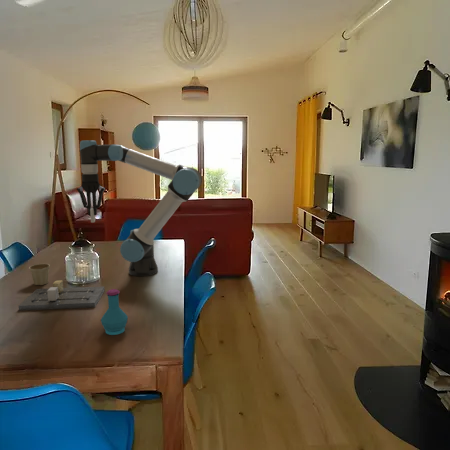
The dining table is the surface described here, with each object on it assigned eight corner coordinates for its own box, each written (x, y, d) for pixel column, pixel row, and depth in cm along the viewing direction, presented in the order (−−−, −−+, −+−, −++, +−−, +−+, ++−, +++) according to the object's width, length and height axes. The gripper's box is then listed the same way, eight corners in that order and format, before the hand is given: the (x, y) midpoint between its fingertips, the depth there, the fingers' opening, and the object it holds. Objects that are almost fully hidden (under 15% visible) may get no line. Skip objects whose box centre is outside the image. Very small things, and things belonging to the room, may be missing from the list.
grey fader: (58, 297, 169) (57, 287, 168) (55, 300, 165) (54, 290, 164) (51, 297, 168) (50, 287, 168) (48, 300, 165) (47, 290, 164)
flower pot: (43, 287, 188) (41, 269, 186) (26, 286, 190) (24, 268, 188) (55, 281, 197) (54, 264, 195) (38, 279, 199) (37, 263, 197)
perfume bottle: (104, 325, 146) (102, 286, 143) (130, 324, 147) (128, 286, 144) (99, 337, 137) (96, 295, 134) (126, 335, 138) (124, 295, 135)
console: (104, 290, 183) (104, 285, 183) (95, 307, 163) (94, 301, 163) (37, 293, 180) (36, 287, 180) (19, 310, 160) (18, 304, 160)
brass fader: (63, 289, 177) (62, 280, 177) (60, 293, 174) (59, 283, 173) (56, 290, 177) (55, 280, 176) (53, 293, 173) (52, 283, 172)
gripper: (105, 172, 194) (108, 220, 198) (78, 173, 192) (81, 220, 197) (102, 173, 186) (105, 223, 191) (73, 173, 185) (77, 223, 189)
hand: (93, 221), depth 194 cm, fingers closed
